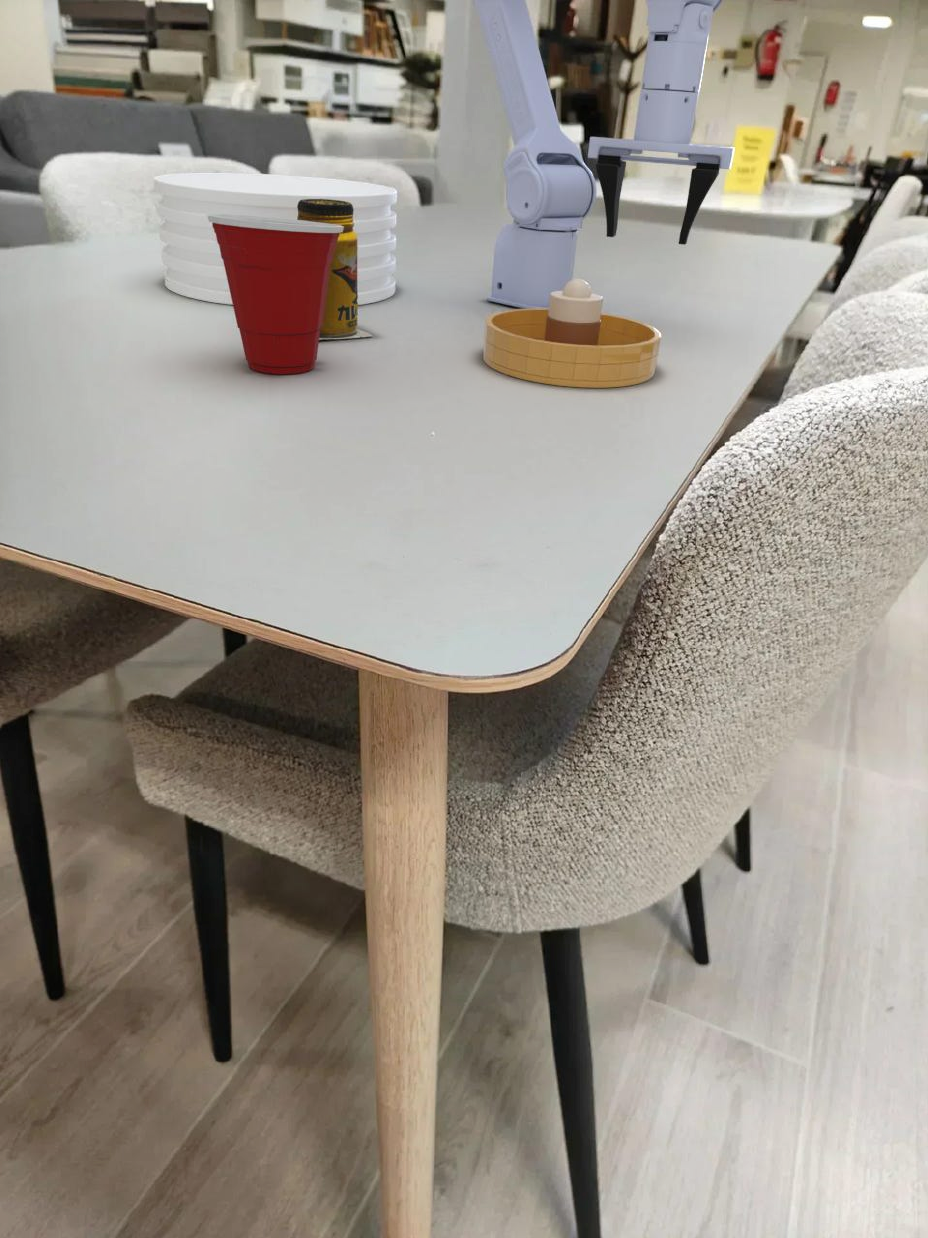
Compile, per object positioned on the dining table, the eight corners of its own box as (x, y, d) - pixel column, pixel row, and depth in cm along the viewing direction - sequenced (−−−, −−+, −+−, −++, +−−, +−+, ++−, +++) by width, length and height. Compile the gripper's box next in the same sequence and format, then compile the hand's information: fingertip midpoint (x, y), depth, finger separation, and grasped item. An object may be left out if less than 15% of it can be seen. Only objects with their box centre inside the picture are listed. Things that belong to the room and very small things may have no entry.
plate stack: (384, 315, 95) (385, 201, 90) (131, 298, 95) (116, 183, 89) (403, 274, 120) (405, 183, 114) (201, 261, 119) (193, 168, 113)
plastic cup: (365, 360, 78) (366, 215, 72) (309, 389, 69) (304, 226, 63) (260, 344, 81) (252, 203, 75) (192, 370, 72) (177, 212, 66)
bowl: (447, 358, 80) (449, 319, 79) (549, 336, 91) (553, 302, 90) (591, 398, 72) (597, 356, 70) (685, 369, 82) (692, 331, 81)
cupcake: (532, 353, 82) (540, 274, 78) (574, 349, 84) (583, 273, 81) (563, 366, 78) (573, 284, 75) (606, 361, 81) (617, 282, 77)
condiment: (373, 337, 86) (374, 205, 80) (294, 343, 82) (289, 204, 76) (340, 322, 91) (339, 197, 85) (265, 327, 87) (258, 196, 81)
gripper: (745, 97, 87) (717, 242, 94) (604, 88, 90) (586, 229, 97) (743, 94, 81) (713, 249, 88) (592, 85, 84) (574, 235, 91)
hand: (646, 239), depth 92 cm, fingers open, 7 cm apart
